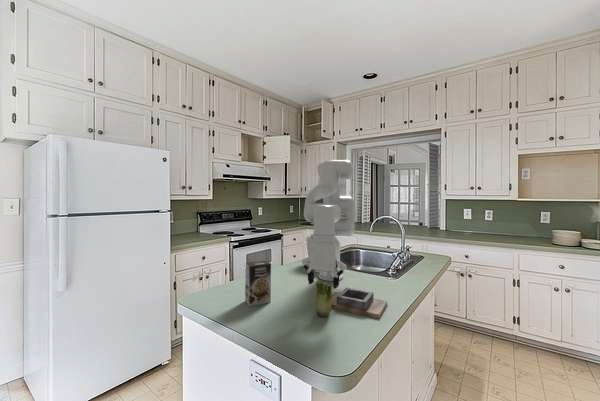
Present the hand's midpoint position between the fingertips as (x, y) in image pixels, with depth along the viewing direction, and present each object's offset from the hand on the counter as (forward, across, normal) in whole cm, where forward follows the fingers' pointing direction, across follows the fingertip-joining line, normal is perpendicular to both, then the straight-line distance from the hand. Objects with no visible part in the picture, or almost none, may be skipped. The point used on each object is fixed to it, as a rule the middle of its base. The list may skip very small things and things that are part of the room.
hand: (323, 285), depth 105 cm
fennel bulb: (+12, 0, +1) cm, 12 cm away
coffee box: (+11, -28, -1) cm, 30 cm away
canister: (+10, -29, +63) cm, 70 cm away
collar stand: (+11, +8, +15) cm, 20 cm away
